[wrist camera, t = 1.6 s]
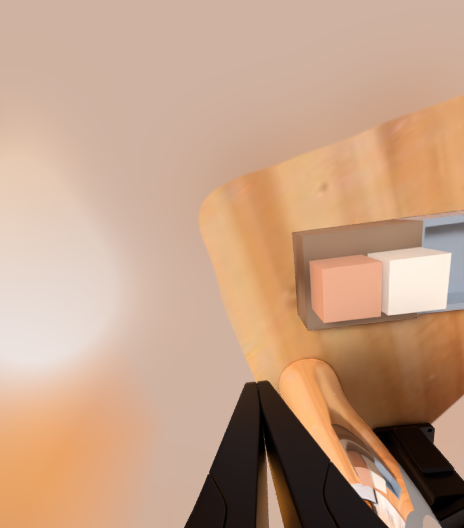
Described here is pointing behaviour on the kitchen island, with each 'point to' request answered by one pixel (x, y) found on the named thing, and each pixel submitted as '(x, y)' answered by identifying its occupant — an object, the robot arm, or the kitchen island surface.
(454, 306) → the slate tray
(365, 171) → the kitchen island surface
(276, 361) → the kitchen island surface
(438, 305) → the cream tile
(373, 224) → the dark walnut board
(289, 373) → the beer glass
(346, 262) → the terracotta tile
